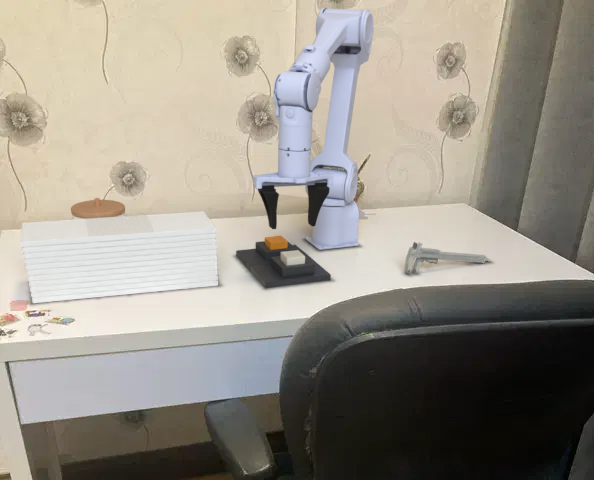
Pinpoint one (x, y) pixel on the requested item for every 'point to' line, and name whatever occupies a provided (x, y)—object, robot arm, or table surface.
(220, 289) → the table surface
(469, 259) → the caliper
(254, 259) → the keypad
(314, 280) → the keypad
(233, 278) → the table surface
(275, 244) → the amber key
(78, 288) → the stack of papers
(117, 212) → the trinket box
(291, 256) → the white key
